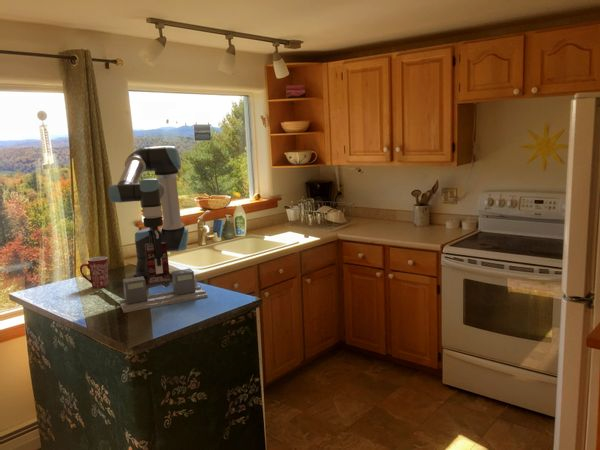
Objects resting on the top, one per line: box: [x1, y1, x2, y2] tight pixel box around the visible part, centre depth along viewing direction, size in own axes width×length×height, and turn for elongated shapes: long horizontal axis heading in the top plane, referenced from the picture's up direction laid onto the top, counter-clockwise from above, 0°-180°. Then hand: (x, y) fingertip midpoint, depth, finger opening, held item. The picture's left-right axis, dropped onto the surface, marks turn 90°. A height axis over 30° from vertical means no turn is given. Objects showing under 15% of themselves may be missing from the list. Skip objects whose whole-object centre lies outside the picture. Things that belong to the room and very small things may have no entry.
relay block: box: [194, 274, 198, 287], centre depth 228 cm, size 5×5×6 cm
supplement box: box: [144, 242, 171, 284], centre depth 209 cm, size 9×5×16 cm, turn 116°
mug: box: [79, 256, 109, 289], centre depth 240 cm, size 13×9×14 cm
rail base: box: [119, 268, 208, 314], centre depth 211 cm, size 13×34×11 cm, turn 116°
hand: (158, 271), depth 210 cm, fingers closed on supplement box, 5 cm apart
